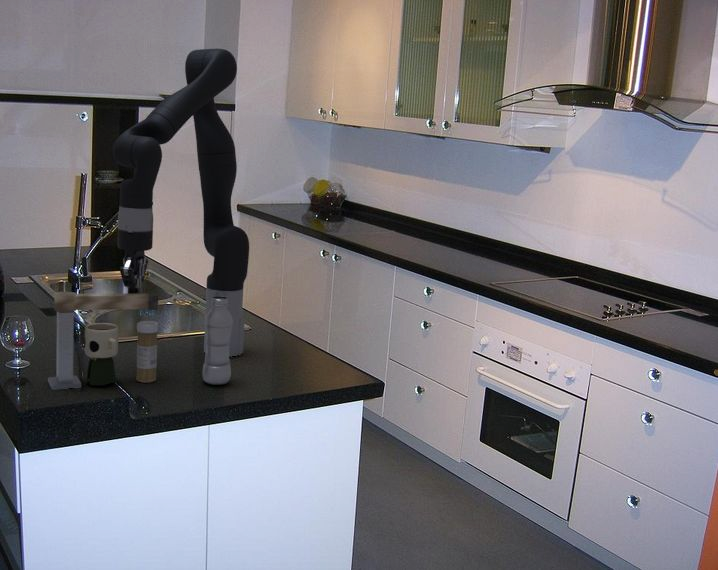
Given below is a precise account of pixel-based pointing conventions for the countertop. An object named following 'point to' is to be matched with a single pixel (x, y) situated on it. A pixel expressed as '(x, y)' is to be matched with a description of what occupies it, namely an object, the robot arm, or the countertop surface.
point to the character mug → (101, 352)
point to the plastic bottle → (217, 342)
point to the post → (64, 354)
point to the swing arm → (104, 301)
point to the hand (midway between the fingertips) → (133, 303)
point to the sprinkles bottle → (146, 351)
